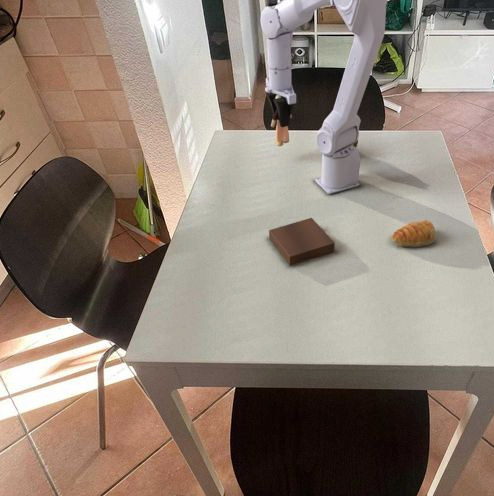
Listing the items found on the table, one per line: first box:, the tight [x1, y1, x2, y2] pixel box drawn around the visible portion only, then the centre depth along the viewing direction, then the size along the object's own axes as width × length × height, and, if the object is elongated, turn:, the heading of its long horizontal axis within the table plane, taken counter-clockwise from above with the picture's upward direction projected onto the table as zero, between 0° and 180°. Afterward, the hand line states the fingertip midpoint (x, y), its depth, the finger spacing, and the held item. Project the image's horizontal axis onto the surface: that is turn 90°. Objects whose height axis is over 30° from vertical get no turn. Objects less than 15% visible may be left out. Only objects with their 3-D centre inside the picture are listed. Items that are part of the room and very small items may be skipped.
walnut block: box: [268, 217, 336, 267], centre depth 96 cm, size 11×11×2 cm
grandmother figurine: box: [270, 95, 293, 147], centre depth 115 cm, size 8×4×13 cm, turn 149°
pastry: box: [391, 219, 437, 248], centre depth 96 cm, size 9×7×4 cm
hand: (281, 123), depth 116 cm, fingers closed on grandmother figurine, 3 cm apart
